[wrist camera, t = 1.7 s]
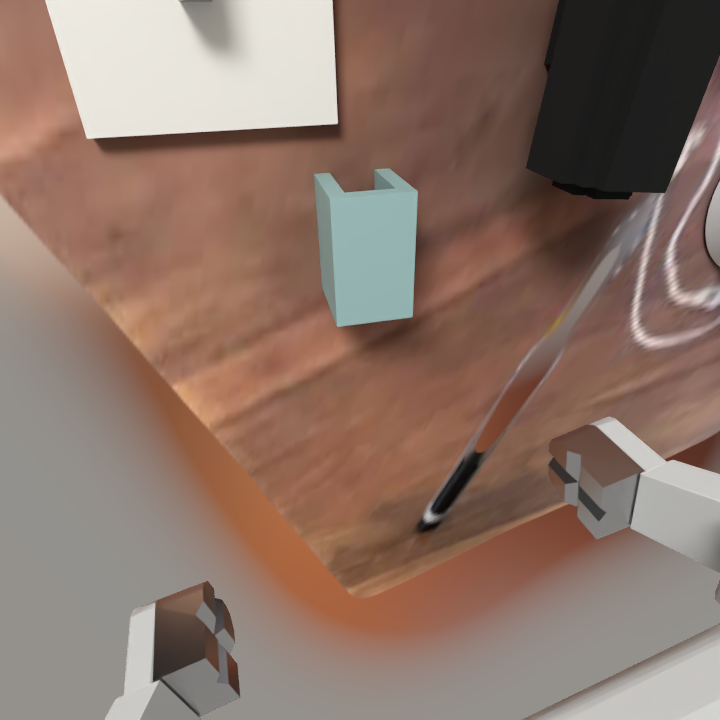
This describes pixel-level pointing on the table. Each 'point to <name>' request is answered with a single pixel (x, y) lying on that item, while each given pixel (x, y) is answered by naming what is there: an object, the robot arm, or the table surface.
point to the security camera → (622, 93)
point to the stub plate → (197, 64)
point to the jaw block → (367, 248)
